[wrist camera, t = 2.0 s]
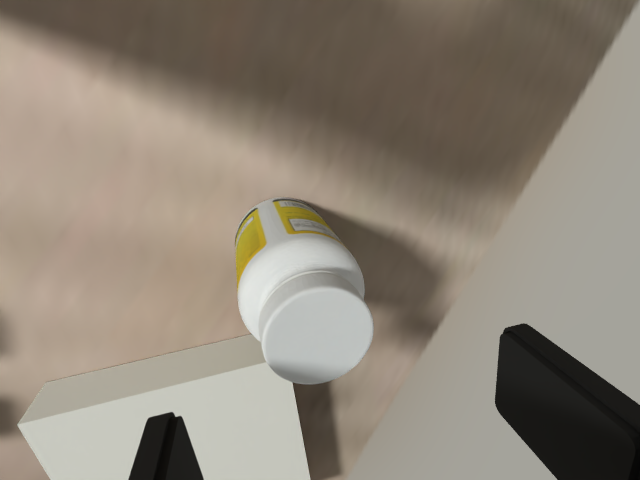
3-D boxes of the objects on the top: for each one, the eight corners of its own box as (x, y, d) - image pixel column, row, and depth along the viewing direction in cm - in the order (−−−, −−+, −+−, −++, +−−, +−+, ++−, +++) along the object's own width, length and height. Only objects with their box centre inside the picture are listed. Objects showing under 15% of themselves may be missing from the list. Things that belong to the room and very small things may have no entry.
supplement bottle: (255, 293, 22) (271, 423, 13) (219, 215, 19) (208, 305, 10) (336, 261, 22) (406, 365, 13) (310, 181, 20) (372, 241, 11)
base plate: (45, 382, 20) (17, 424, 18) (280, 327, 23) (287, 356, 20) (123, 527, 26) (110, 577, 23) (307, 470, 28) (316, 509, 25)
